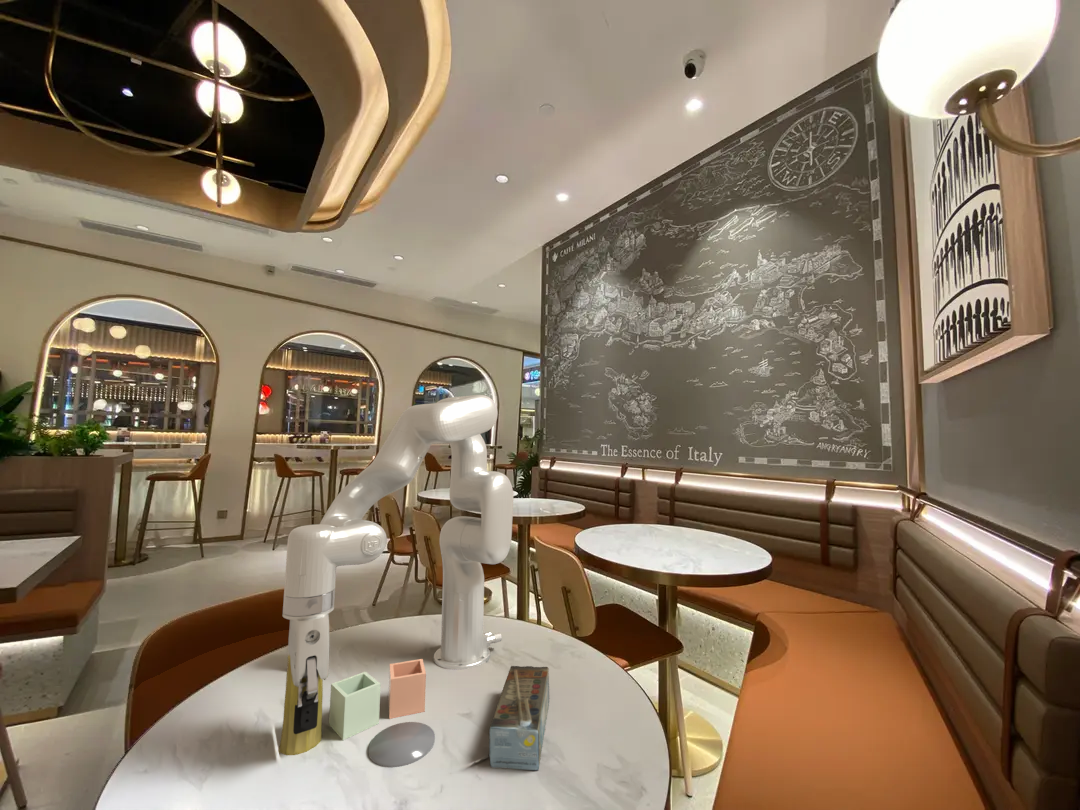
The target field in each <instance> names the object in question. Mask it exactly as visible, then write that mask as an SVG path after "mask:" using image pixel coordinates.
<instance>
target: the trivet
mask: <svg viewBox="0 0 1080 810" xmlns="http://www.w3.org/2000/svg"><path fill="white" fill-rule="evenodd" d="M435 735H436V733H435V731H434V729H433V728H432V727H431V726H429V725H428V724H425V723H424V722H423V723H422V722H418V721H405V722H400V723H395V724H393V725H391V726H387V727H385V728H384V729H382V730H380V731H379V732H378V733H377V734H375V736H374V737H373V738H372V739H371V741H370V743H369V746H368V756H369V759H370V760H371V762H373V763H374V764H375V765H378V766H380V767H384V768H398V767H399V768H401V767H404V766H408V765H411V764H414V763H416V762H418V761H419V760H422V759H423V758H424V757H426V755H427V754H429V753H431V751H432V749H433V747H434V745H435V741H436V736H435Z"/></svg>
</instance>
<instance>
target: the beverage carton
mask: <svg viewBox="0 0 1080 810" xmlns="http://www.w3.org/2000/svg"><path fill="white" fill-rule="evenodd" d="M549 671H550V669H549V667H548V666H532V665H526V666H525V665H524V666H519V665H511V666H510V668H509V671H508V674H507V676H506V678H505V682H504V685H503V688H502V691H501V693H500V697H499V698H498V702H497V705H496V708H495V712H494V714H493V718H492V720H491V722H490V724H489V725H490V726H489V729H488V730H489V733H488V734H489V741H488V744H489V745H488V746H489V747H488V748H489V751H488V754H489V763H490V768H495V769H496V768H498V769H500V768H502V769H513V770H523V771H526V770H527V771H539V769H540V764H541V757H542V756H541V755H542V749H543V744H544V737H545V732H546V725H547V720H548V713H549V706H550V672H549Z"/></svg>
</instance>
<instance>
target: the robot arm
mask: <svg viewBox="0 0 1080 810" xmlns="http://www.w3.org/2000/svg"><path fill="white" fill-rule="evenodd" d="M498 413H499V412H498V408H497V404H496V402H495V401H494V400H493V399H492V398H491V397H489V396H488V395H485V394H473V395H463V396H462V395H461V396H453V397H446V398H443V399H439V400H438V401H437V402H433V403H424V404H423V403H422V404H415V405H412V406H409V407H408V408H406V409H405V410H403V412H402V413H401V414H400V416H399V418H398V419H397V421H396V423H395V425H393V428H392V429H391V431H390V433H389V434H388V436H387V438H386V439H385V441H384V443H383V444H382V446H381V448H380V449H379V451H378V453H377V454H376V457H375V458H374V459H373V461H372V462H371V463H370V464H369V465H368V466H367V467H366V468H365V469H363V470H362V471H361V472H360V473H359V474H357V476H356V477H354V478H353V479H352V480H351V481H350V482H349V483H348V484H346V486H344V487H343V488H342V489H341V490H340V492H339V493H337V495H336V496H335V498H334V500H333V501H332V503H330V506H329V508H328V509H327V510H326V512H325V514H324V515H323V516H322V519H321V521H320V523H318V524H307V525H301V526H297V527H295V528H293V529H292V530H291V531H290V532H289V534H288V537H287V544H286V545H287V547H286V557H285V561H286V562H285V573H284V575H285V576H284V588H283V589H284V591H283V604H282V605H283V606H282V617H283V618H284V619H286V620H289V630H288V643H287V644H288V646H287V651H288V652H287V656H288V655H289V656H290V665H291V674H292V681H293V684H294V685H295V686H296V687H297V705H295V712H294V728H293V732H294V734H299V733H302V732H305V731H308V730H311V729H314V728H316V726H317V717H318V673H319V675H320V678H321V680H322V679H323V680H324V681H326V680H327V679H328V678H329V676H330V617H329V616H330V615H329V614H330V613H332V611H334V610H335V599H336V598H335V595H336V578H337V567H340V566H356V565H357V566H359V565H364V564H369V563H371V562H373V561H375V560H377V559H378V558H379V557H380V556H381V555H382V554H383V553H384V551H385V549H386V547H387V541H388V540H387V534H386V530H384V528H383V527H382V525H379V524H378V523H376V522H374V521H373V520H372V521H370V520H365V519H363V518H364V517H365V515H366V513H367V512H368V511H369V510H370V509H371V507H373V506H374V505H375V504H376V503H377V502H378V501H379V500H381V499H383V498H384V497H386V496H388V495H389V494H392V493H394V492H397V491H399V490H401V489H403V488H404V487H406V486H408V485H409V484H410V483H411V482H412V481H413V480H414V478H415V476H416V474H417V472H418V471H419V469H420V466H421V465H422V463H423V460H424V459H425V457H426V455H427V453H428V452H429V450H430V447H431V446H432V445H433V444H434V445H435V444H439V445H440V444H442V445H443V444H449V446H450V450H451V464H450V477H449V480H450V481H449V501H450V505H451V506H452V507H454V508H455V509H458V510H460V511H465V512H466V511H467V512H474V513H480V517H474V516H467V515H466V516H465V515H464V516H463V515H462V516H454V517H452V518H450V519H448V520H447V521H446V522H445V523H444V524H443V526H442V528H441V530H440V531H439V533H440V534H439V548H440V554H441V560H442V592H441V593H442V595H441V596H442V601H441V604H442V605H441V630H440V631H441V632H440V633H441V635H440V637H441V638H440V647H439V648H438V649H437V650H436V651H435V652H434V654H433V662H434V663H435V665H436V666H438V667H440V668H442V669H445V670H446V669H447V670H453V671H454V670H457V671H459V670H469V669H472V668H476V667H478V666H480V665H483V664H485V663H487V662H488V661H489V660H488V659H490V656H491V655H490V654H491V653H490V649H489V647H490V646H491V645H492V644H497V643H499V642H502V639H503V637H502V636H503V635H502V634H501V632H497V633H492V632H491V631H487V632H484V616H485V615H484V614H485V611H484V608H485V603H484V602H485V574H484V568H483V566H482V564H487V565H496V564H500V563H501V562H503V561H504V560H505V559H506V557H507V556H508V554H509V552H510V549H511V543H512V538H513V537H512V535H513V517H514V516H513V515H514V489H513V486H512V483H511V481H510V480H511V479H509V477H508V476H507V475H506V474H505V473H502V472H499V471H495V470H492V471H491V470H488V451H487V450H488V449H487V445H486V442H485V439H484V438H483V437H482V434H484V433H486V432H488V431H490V430H491V429H492V428H493V427H494V426H495V424H496V422H497V419H498V415H499V414H498ZM303 678H306V680H307V681H306V682H302V683H301V679H303ZM306 686H307V688H306V691H304V693H303V694H302V687H306Z"/></svg>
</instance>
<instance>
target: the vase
mask: <svg viewBox="0 0 1080 810" xmlns="http://www.w3.org/2000/svg"><path fill="white" fill-rule="evenodd" d="M285 680H286V681H285V694H284V704H283V705H284V706H283V720H282V727H281V737H280V740H279V741H280V742H279V747H278V754H279V755H281V754H283V755H285V756H299V755H301V754H304V753H307V752H309V751H311V750H312V749H314V748H316V747H317V746H318V745H319V744H320V743H321V741H322V738H323V733H322V730H323V729H322V725H323V724H322V720H323V693H324V692H323V689H324V688H323V686H324V685H323V684H324V683H323V680H324V679H322V680H321V678H320V675H319V673H318V717H317V726H316V728H314V729H311V730H308V731H305V732H302V733H299V734H294V732H293V728H294V712H295V705H297V687H296V686H295V685H294V684H293V681H292V674H291V665H290V656H289V655H288V654H287V666H286V679H285ZM306 681H307V680H306V678H303V679H301V683H302V682H306ZM306 688H307V686H306V687H302V694H303V693H304V691H306ZM280 753H281V754H280Z"/></svg>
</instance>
